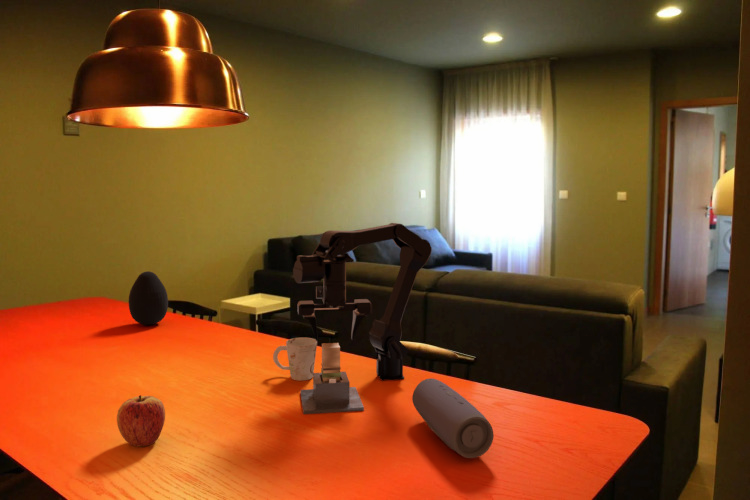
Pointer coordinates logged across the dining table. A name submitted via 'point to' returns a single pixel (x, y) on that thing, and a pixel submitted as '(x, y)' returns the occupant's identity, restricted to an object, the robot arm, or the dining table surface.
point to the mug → (299, 357)
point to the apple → (141, 420)
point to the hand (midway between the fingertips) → (334, 340)
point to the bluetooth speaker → (453, 418)
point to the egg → (148, 299)
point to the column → (330, 361)
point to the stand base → (330, 396)
